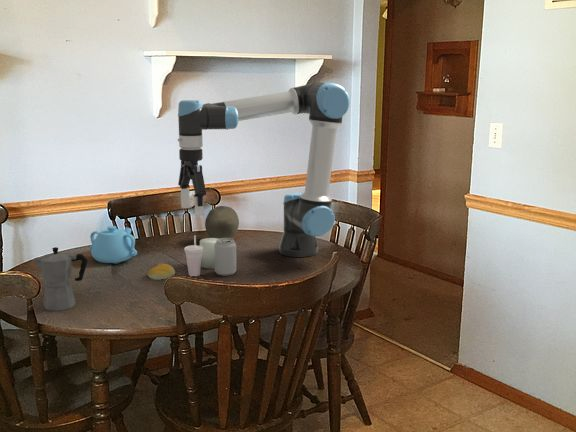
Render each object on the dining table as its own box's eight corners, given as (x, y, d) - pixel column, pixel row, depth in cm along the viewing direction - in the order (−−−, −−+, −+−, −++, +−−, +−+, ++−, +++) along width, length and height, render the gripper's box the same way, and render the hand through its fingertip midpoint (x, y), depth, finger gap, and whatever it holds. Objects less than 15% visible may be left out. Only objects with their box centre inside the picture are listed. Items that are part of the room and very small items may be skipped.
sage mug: (220, 259, 233) (220, 236, 231) (230, 265, 227) (230, 241, 225) (196, 263, 228) (195, 239, 226) (206, 269, 221) (205, 245, 219)
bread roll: (143, 279, 212) (143, 267, 211) (158, 271, 220) (158, 260, 219) (164, 282, 209) (164, 270, 208) (178, 274, 217) (178, 263, 216)
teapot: (78, 263, 228) (75, 229, 225) (109, 248, 246) (107, 217, 243) (126, 268, 222) (124, 234, 219) (154, 253, 241) (152, 221, 238)
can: (233, 277, 214) (232, 243, 211) (211, 275, 215) (211, 242, 212) (239, 270, 221) (238, 237, 218) (218, 269, 222) (218, 236, 219)
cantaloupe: (197, 243, 253) (196, 207, 250) (220, 236, 265) (219, 201, 261) (225, 249, 246) (224, 212, 242) (246, 241, 257) (246, 205, 254)
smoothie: (200, 278, 212) (199, 238, 209) (182, 277, 213) (181, 237, 210) (206, 272, 218) (205, 233, 215) (188, 271, 219) (187, 232, 216)
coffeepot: (33, 312, 182) (27, 253, 178) (39, 301, 191) (34, 244, 186) (88, 309, 185) (84, 250, 180) (92, 298, 194) (88, 241, 189)
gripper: (167, 144, 215) (169, 205, 220) (192, 153, 193) (194, 220, 198) (188, 143, 218) (190, 203, 223) (215, 152, 197) (216, 218, 202)
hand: (192, 211), depth 211 cm, fingers open, 13 cm apart
